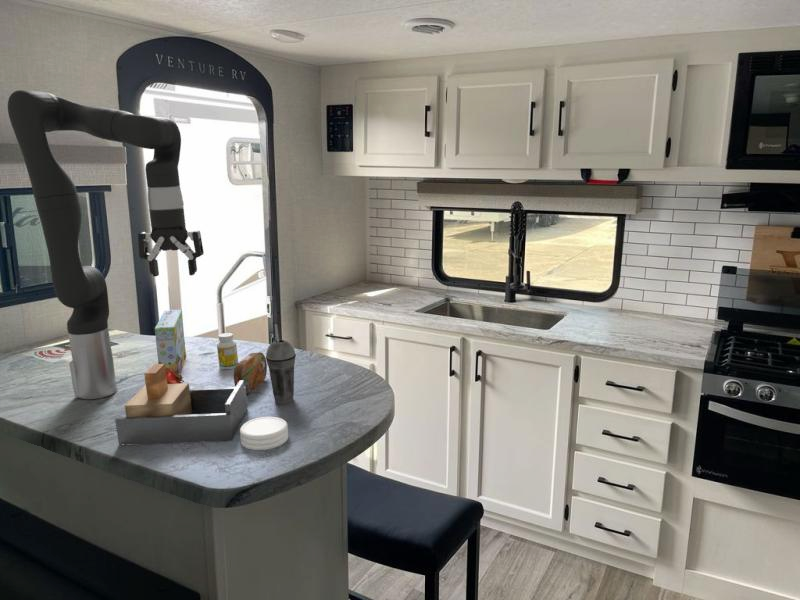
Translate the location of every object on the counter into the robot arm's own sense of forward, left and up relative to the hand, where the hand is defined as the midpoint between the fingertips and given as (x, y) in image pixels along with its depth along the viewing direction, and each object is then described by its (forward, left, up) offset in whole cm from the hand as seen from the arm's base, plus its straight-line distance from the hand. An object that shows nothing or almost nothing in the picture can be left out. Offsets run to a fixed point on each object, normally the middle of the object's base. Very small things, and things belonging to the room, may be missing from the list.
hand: (174, 275), depth 146 cm
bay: (+4, -15, -32) cm, 36 cm away
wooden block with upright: (-2, -15, -31) cm, 34 cm away
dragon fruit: (-6, +3, -32) cm, 33 cm away
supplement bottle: (+4, +25, -32) cm, 41 cm away
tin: (+14, +8, -32) cm, 36 cm away
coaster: (+23, -23, -33) cm, 46 cm away
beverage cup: (+24, -2, -32) cm, 40 cm away
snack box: (-12, +26, -32) cm, 43 cm away
